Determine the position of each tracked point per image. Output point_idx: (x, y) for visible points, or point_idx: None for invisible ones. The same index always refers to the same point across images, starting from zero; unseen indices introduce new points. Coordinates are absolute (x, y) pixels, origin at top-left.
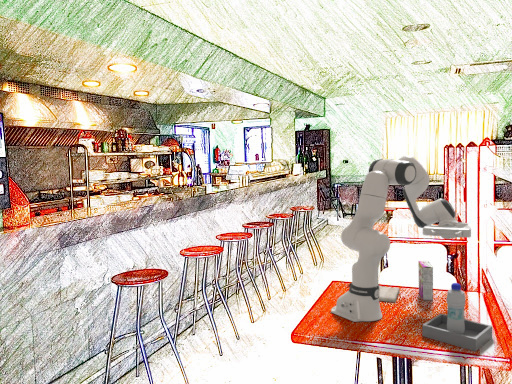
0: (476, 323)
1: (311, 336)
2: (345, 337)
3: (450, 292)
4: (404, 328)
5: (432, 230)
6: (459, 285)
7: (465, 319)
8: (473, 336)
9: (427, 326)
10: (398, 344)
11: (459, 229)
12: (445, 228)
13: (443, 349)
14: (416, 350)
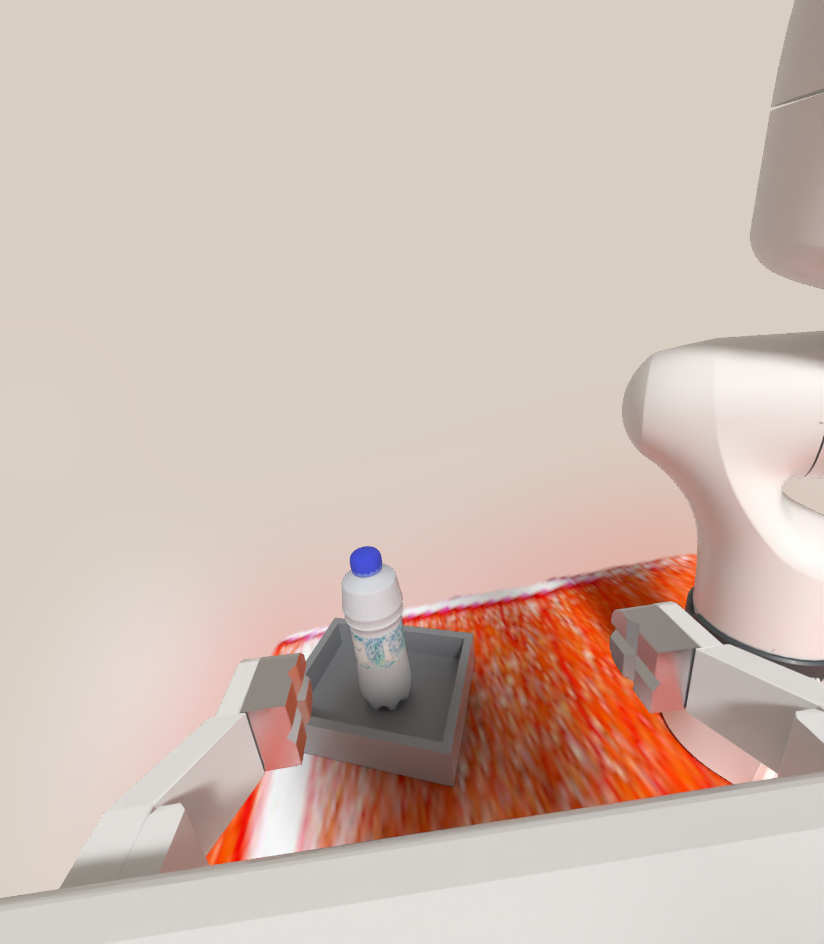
0: (318, 718)
1: (677, 559)
2: (620, 582)
3: (385, 564)
4: (543, 685)
5: (784, 684)
6: (354, 551)
7: (352, 734)
8: (337, 700)
9: (457, 632)
10: (504, 602)
11: (105, 883)
12: (560, 848)
13: (409, 622)
14: (459, 597)
